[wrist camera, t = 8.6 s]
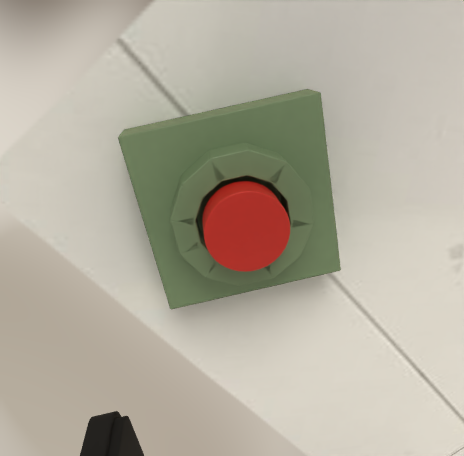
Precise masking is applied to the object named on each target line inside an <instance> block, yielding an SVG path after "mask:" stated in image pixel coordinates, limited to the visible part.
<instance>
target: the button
mask: <svg viewBox="0 0 464 456" xmlns="http://www.w3.org/2000/svg"><path fill="white" fill-rule="evenodd" d="M202 220H203V232H204V240H205V244H206V247H207V249H208V251H209V253H210V254H211V256H212V257H213V258H214V259H215V260H216V261H217V262H218V263H219V264H221V265H223V266H224V267H226V268H229V269H232V270H235V271H244V272H246V271H254V270H258V269H261V268H264V267H266V266H268V265H269V264H271V263H272V262H274V261H275V260H276V259H277V258H278V257H279V256H280V255H281V254H282V252H283V251H284V249H285V248H286V245H287V243H288V240H289V236H290V221H289V217H288V215H287V213H286V211H285V209H284V207H283V206H282V204H281V203H280V201H279V200H278V198H277V197H276V195H275V194H274V193H273V192H272V191H271V190H270V189H268V188H267V187H265V186H264V185H262V184H259V183H256V182H252V181H237V182H233V183H230V184H227V185H225V186H223V187H222V188H220V189H219V190H217V191H216V192H215V193H214V194H213V195H212V196H211V198H210V199H209V200H208V202H207V204H206V206H205V209H204V212H203V219H202Z"/></svg>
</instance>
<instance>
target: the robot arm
mask: <svg viewBox="0 0 464 456" xmlns="http://www.w3.org/2000/svg"><path fill="white" fill-rule="evenodd" d="M80 456H144V454H143V451H142V449H141V446H140V444H139V441H138V439H137V437H136V434H135V431H134V429H133V426H132V424H131V421H130V419H129V417H128V416H124V417H121V415H120V414H119V412H117V411H116V412H111V413H107V414H103V415H98V416H94V417H91V419H90V421H89V423H88V427H87V431H86V434H85V438H84V442H83V446H82V450H81V453H80Z"/></svg>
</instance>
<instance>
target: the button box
mask: <svg viewBox="0 0 464 456" xmlns="http://www.w3.org/2000/svg"><path fill="white" fill-rule="evenodd" d="M118 139H119V143H120V146H121V149H122V152H123V156H124V159H125V162H126V165H127V169H128V172H129V175H130V179H131V182H132V185H133V188H134V192H135V195H136V198H137V201H138V205H139V208H140V211H141V214H142V218H143V221H144V224H145V228H146V231H147V234H148V237H149V241H150V244H151V247H152V250H153V254H154V257H155V260H156V263H157V267H158V270H159V273H160V277H161V280H162V283H163V286H164V290H165V293H166V296H167V299H168V303H169V306H170V309H175V308H179V307H184V306H188V305H192V304H197V303H201V302H205V301H210V300H214V299H219V298H223V297H227V296H232V295H236V294H240V293H245V292H249V291H253V290H258V289H262V288H266V287H271V286H275V285H279V284H284V283H288V282H292V281H297V280H301V279H305V278H310V277H314V276H319V275H323V274H327V273H332V272H336V271H340V270H341V269H340V260H339V251H338V242H337V233H336V225H335V216H334V207H333V198H332V189H331V181H330V172H329V163H328V154H327V145H326V136H325V128H324V119H323V110H322V101H321V93H320V92H317V91H313V90H309V89H306V90H302V91H297V92H292V93H288V94H283V95H279V96H274V97H270V98H265V99H261V100H256V101H252V102H247V103H243V104H238V105H234V106H229V107H225V108H220V109H216V110H211V111H207V112H202V113H198V114H193V115H189V116H184V117H180V118H175V119H171V120H166V121H162V122H157V123H153V124H148V125H143V126H139V127H134V128H130V129H125V130H124V131H123V132H122V133H121V134H120V136H119V137H118ZM237 181H252V182H256V183H259V184H262V185H264V186H265V187H267V188H268V189H270V190H271V191H272V192H273V193H274V194H275V195H276V197H277V198H278V200H279V201H280V203H281V204H282V206H283V207H284V209H285V211H286V213H287V215H288V217H289V221H290V236H289V240H288V243H287V245H286V248H285V249H284V251H283V252H282V254H281V255H280V256H279V257H278V258H277V259H276V260H275V261H274V262H272V263H271V264H269V265H268V266H266V267H264V268H261V269H258V270H254V271H246V272H244V271H235V270H232V269H229V268H226V267H224V266H223V265H221V264H219V263H218V262H217V261H216V260H215V259H214V258H213V257H212V256H211V254H210V253H209V251H208V249H207V247H206V244H205V240H204V232H203V220H202V219H203V212H204V209H205V206H206V204H207V202H208V200H209V199H210V198H211V196H212V195H213V194H214V193H215V192H216V191H217V190H219V189H220V188H222V187H223V186H225V185H227V184H230V183H233V182H237Z"/></svg>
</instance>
